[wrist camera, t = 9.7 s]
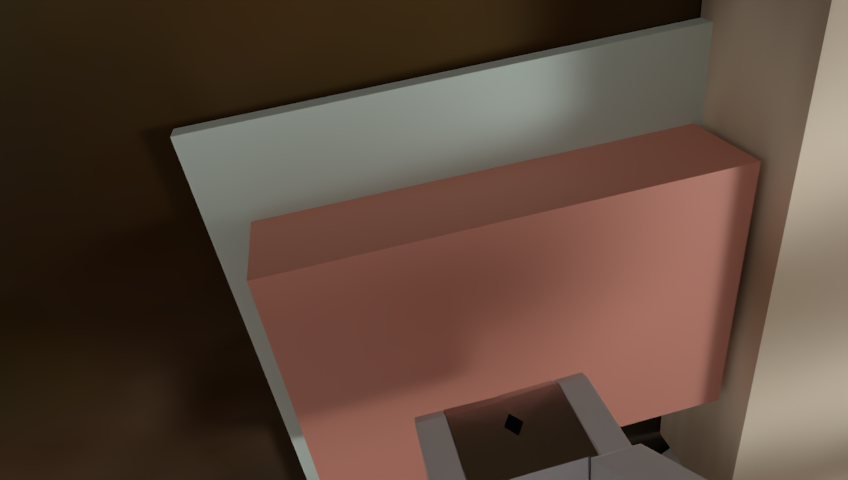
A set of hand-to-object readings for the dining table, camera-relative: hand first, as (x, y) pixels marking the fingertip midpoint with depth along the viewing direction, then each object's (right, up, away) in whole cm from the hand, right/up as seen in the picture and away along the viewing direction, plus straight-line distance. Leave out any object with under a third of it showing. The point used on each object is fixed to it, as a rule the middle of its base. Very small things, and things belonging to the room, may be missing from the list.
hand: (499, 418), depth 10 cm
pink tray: (0, +2, +3) cm, 4 cm away
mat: (0, +2, +3) cm, 4 cm away
